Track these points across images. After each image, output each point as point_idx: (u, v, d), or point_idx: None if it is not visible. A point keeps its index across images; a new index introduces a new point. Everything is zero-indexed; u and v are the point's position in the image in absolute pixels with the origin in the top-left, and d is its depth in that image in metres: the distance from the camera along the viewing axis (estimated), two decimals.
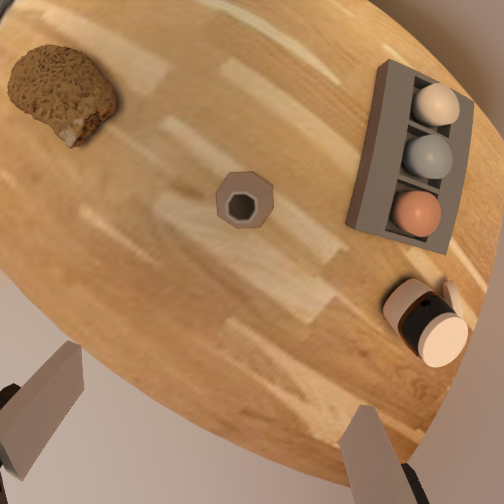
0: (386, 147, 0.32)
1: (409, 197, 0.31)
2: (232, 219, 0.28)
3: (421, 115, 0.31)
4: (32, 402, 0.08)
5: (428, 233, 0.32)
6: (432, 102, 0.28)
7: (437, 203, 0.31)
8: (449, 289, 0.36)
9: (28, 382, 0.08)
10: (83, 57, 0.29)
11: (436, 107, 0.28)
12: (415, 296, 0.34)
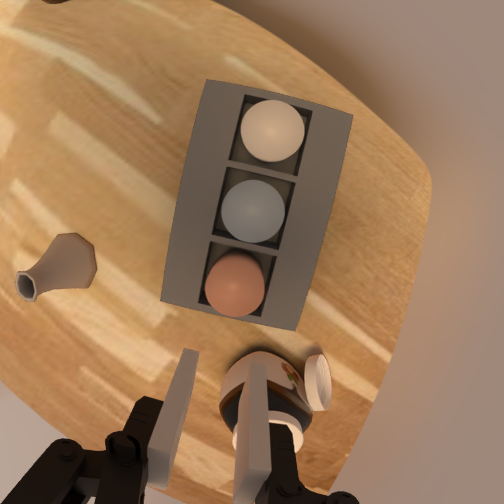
0: (193, 202, 0.28)
1: (213, 268, 0.27)
2: (22, 297, 0.24)
3: (247, 150, 0.27)
4: (182, 411, 0.10)
5: (245, 312, 0.28)
6: (251, 132, 0.24)
7: (257, 275, 0.27)
8: (305, 370, 0.32)
9: (169, 392, 0.11)
10: None
11: (258, 138, 0.24)
12: (240, 380, 0.30)
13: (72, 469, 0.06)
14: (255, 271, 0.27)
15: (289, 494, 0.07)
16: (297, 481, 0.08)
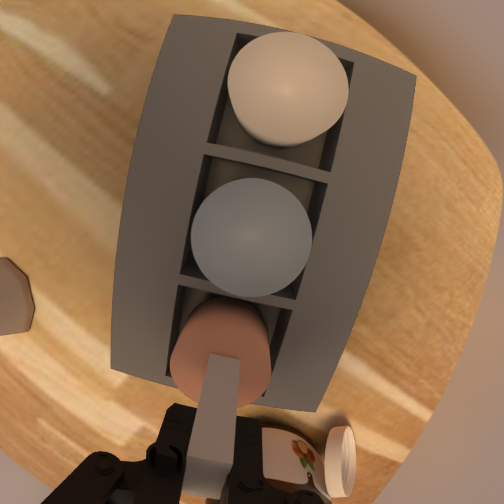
0: (147, 218, 0.16)
1: (182, 337, 0.15)
2: None
3: (242, 125, 0.14)
4: (216, 417, 0.10)
5: (239, 404, 0.15)
6: (248, 87, 0.12)
7: (258, 351, 0.15)
8: (326, 454, 0.20)
9: (201, 399, 0.11)
10: None
11: (261, 98, 0.12)
12: None
13: (109, 483, 0.06)
14: (255, 345, 0.14)
15: (250, 489, 0.07)
16: (257, 475, 0.08)
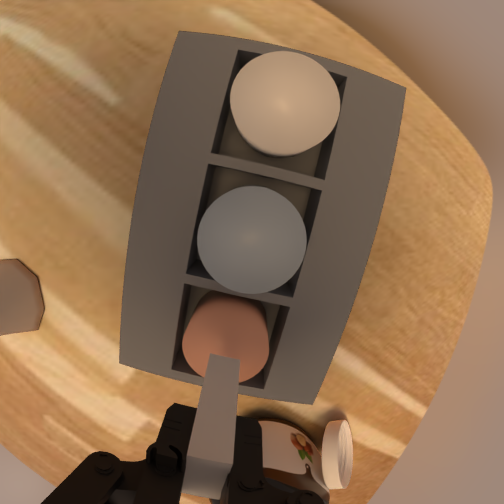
0: (155, 222, 0.17)
1: (193, 319, 0.18)
2: None
3: (243, 137, 0.16)
4: (216, 417, 0.10)
5: (241, 378, 0.18)
6: (249, 103, 0.13)
7: (258, 330, 0.18)
8: (323, 446, 0.21)
9: (201, 399, 0.11)
10: None
11: (261, 114, 0.13)
12: None
13: (109, 483, 0.06)
14: (255, 324, 0.17)
15: (250, 489, 0.07)
16: (257, 475, 0.08)
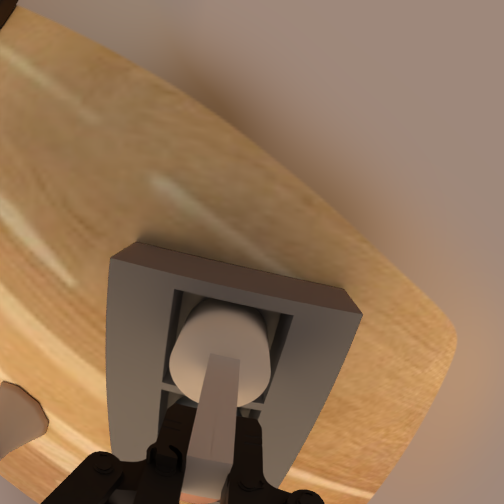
0: (127, 418, 0.18)
1: None
2: None
3: None
4: (216, 417, 0.10)
5: (205, 502, 0.20)
6: (186, 374, 0.15)
7: None
8: None
9: (201, 399, 0.11)
10: None
11: (197, 382, 0.15)
12: None
13: (109, 483, 0.06)
14: None
15: (250, 489, 0.07)
16: (257, 475, 0.08)
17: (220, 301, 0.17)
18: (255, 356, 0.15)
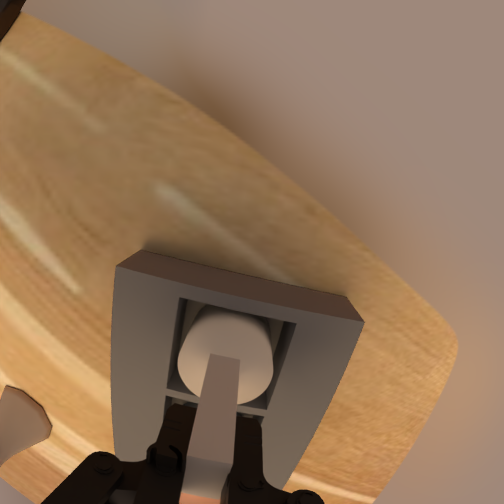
0: (131, 423, 0.18)
1: None
2: None
3: None
4: (216, 417, 0.10)
5: None
6: (194, 372, 0.16)
7: None
8: None
9: (201, 399, 0.11)
10: None
11: None
12: None
13: (109, 483, 0.06)
14: None
15: (250, 489, 0.07)
16: (257, 475, 0.08)
17: None
18: (259, 354, 0.16)
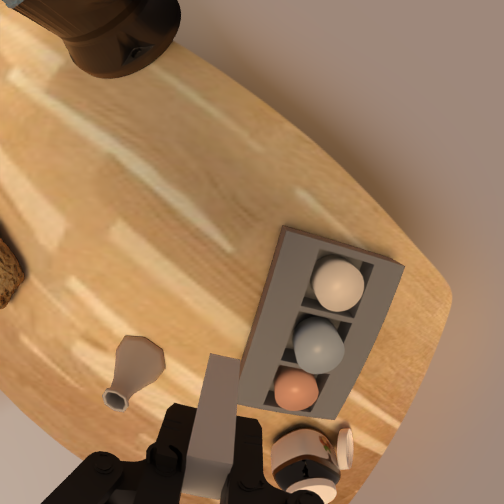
0: (268, 337, 0.33)
1: (282, 381, 0.34)
2: (110, 407, 0.29)
3: None
4: (216, 417, 0.10)
5: (302, 408, 0.34)
6: (324, 290, 0.31)
7: (314, 386, 0.33)
8: (338, 443, 0.37)
9: (201, 399, 0.11)
10: None
11: (328, 295, 0.31)
12: (291, 454, 0.35)
13: (109, 483, 0.06)
14: (313, 383, 0.33)
15: (250, 489, 0.07)
16: (258, 475, 0.08)
17: (334, 256, 0.34)
18: (358, 279, 0.31)
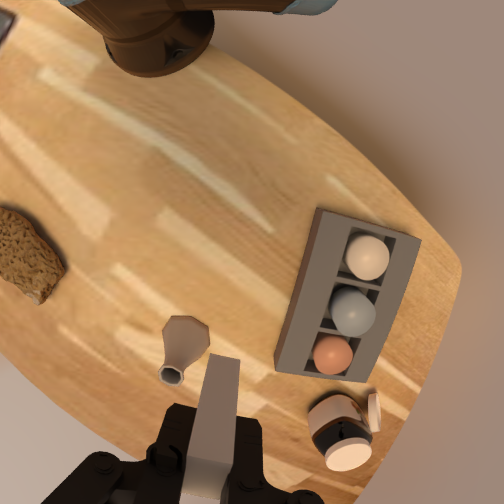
0: (308, 306, 0.38)
1: (321, 346, 0.38)
2: (165, 382, 0.34)
3: (347, 266, 0.38)
4: (215, 417, 0.10)
5: (338, 371, 0.39)
6: (356, 261, 0.35)
7: (349, 349, 0.38)
8: (369, 406, 0.42)
9: (201, 399, 0.11)
10: (24, 228, 0.36)
11: (360, 265, 0.36)
12: (328, 418, 0.40)
13: (109, 483, 0.06)
14: (348, 347, 0.38)
15: (250, 489, 0.07)
16: (257, 475, 0.08)
17: (362, 233, 0.38)
18: (384, 251, 0.35)
